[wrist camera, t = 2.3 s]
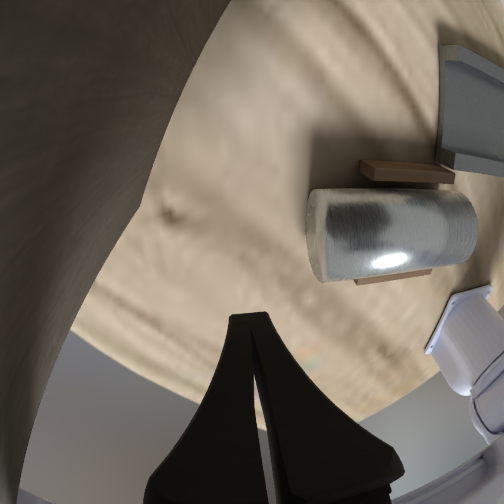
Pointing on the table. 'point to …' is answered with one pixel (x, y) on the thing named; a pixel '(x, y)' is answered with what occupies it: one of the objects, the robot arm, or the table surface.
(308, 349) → the table surface
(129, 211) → the wood block
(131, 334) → the table surface
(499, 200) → the table surface
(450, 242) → the grey metal cylinder
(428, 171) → the brown piece
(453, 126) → the cradle
